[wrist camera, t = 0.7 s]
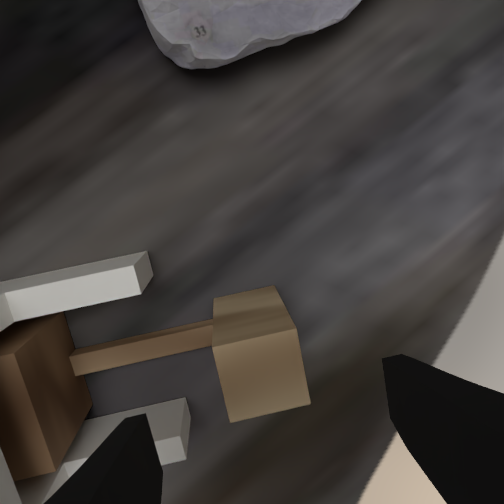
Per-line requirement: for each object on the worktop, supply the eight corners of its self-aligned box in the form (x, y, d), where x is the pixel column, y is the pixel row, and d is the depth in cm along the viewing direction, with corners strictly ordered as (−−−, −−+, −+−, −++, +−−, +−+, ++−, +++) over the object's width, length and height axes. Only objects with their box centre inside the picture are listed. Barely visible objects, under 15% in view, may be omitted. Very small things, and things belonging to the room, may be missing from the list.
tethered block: (288, 359, 20) (315, 427, 14) (-9, 427, 19) (-98, 526, 14) (270, 265, 19) (291, 301, 13) (-45, 334, 18) (-156, 401, 13)
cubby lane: (191, 417, 20) (176, 544, 13) (-30, 469, 19) (-166, 629, 13) (147, 250, 18) (104, 296, 11) (-99, 302, 18) (-300, 383, 11)
